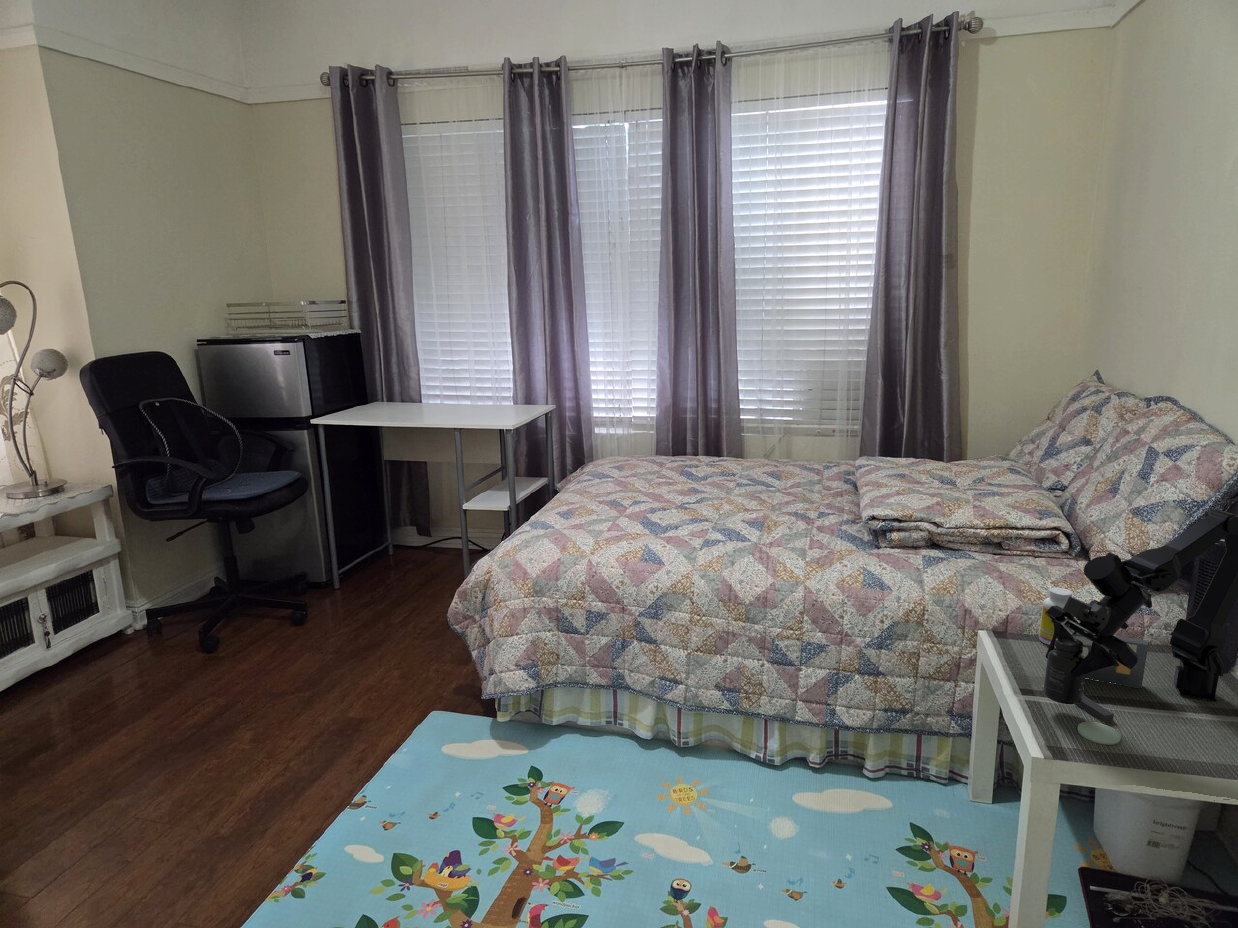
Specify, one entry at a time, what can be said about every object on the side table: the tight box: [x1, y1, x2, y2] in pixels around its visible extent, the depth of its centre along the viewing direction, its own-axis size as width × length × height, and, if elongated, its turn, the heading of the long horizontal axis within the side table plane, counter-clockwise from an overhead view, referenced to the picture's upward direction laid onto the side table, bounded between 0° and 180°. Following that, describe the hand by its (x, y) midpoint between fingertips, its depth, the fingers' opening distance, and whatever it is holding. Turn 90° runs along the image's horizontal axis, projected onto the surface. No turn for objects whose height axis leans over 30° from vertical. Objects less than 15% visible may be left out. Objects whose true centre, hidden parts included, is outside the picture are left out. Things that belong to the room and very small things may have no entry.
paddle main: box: [1115, 662, 1130, 675], centre depth 169 cm, size 2×1×4 cm, turn 66°
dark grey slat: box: [1075, 694, 1115, 723], centre depth 164 cm, size 14×2×2 cm, turn 15°
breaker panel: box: [1072, 631, 1149, 689], centre depth 172 cm, size 16×3×10 cm, turn 66°
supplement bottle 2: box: [1043, 636, 1086, 705], centre depth 159 cm, size 7×7×12 cm
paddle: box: [1082, 647, 1088, 657], centre depth 172 cm, size 2×1×4 cm, turn 67°
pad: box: [1077, 721, 1122, 746], centre depth 153 cm, size 7×7×1 cm
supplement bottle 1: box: [1038, 587, 1075, 646], centre depth 190 cm, size 7×7×13 cm
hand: (1060, 666), depth 158 cm, fingers closed on supplement bottle 2, 7 cm apart
